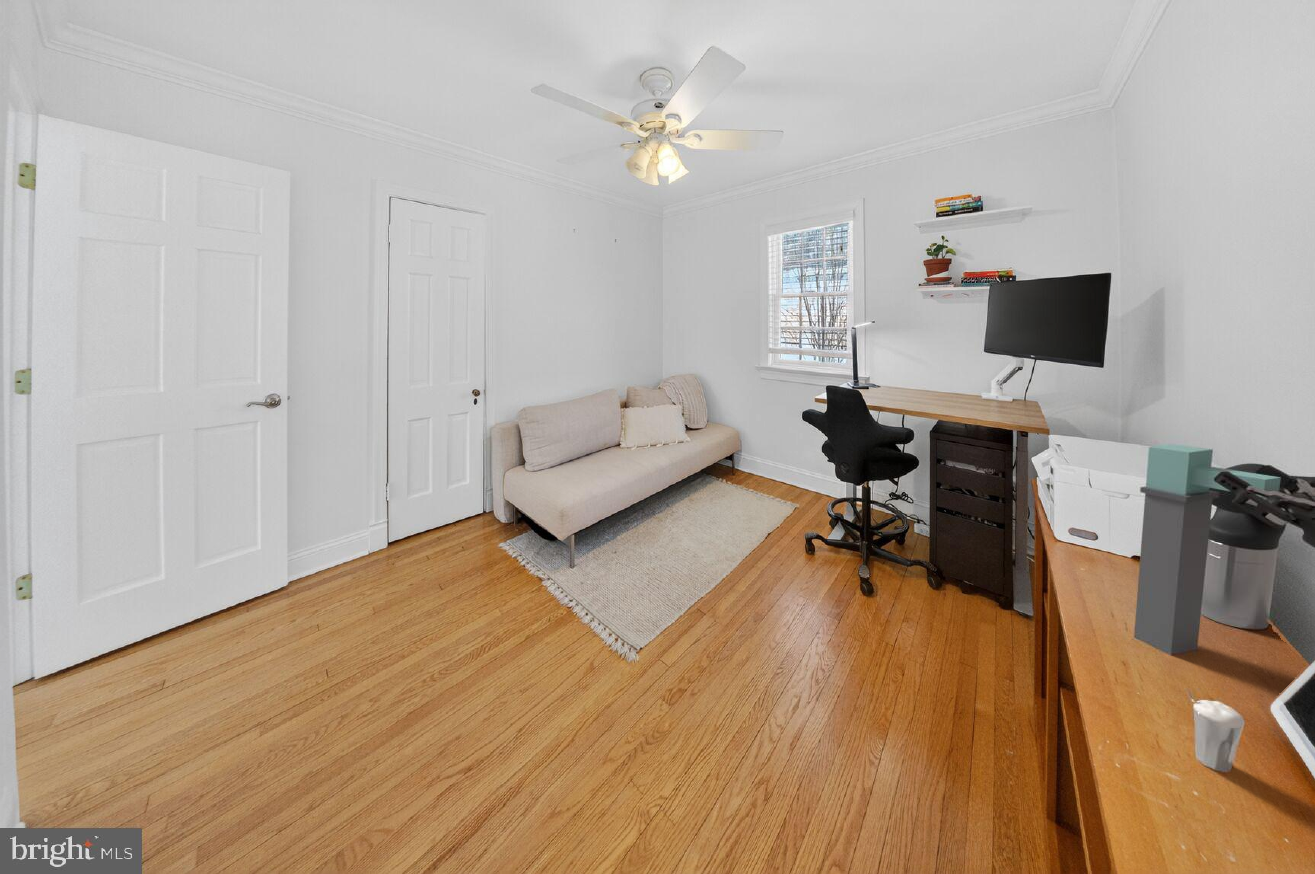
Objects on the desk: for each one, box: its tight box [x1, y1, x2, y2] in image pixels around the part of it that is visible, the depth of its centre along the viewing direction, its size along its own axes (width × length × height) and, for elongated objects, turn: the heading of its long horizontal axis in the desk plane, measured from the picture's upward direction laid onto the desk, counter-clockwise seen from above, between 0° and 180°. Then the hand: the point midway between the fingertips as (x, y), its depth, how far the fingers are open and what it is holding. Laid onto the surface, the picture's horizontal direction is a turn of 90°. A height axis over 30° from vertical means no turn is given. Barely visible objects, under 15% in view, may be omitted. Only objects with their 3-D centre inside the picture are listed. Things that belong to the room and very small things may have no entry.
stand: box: [1133, 486, 1219, 656], centre depth 87 cm, size 7×7×32 cm
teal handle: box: [1145, 443, 1281, 497], centre depth 80 cm, size 15×5×8 cm, turn 7°
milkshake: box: [1185, 687, 1246, 773], centre depth 64 cm, size 4×5×10 cm
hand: (1240, 471), depth 76 cm, fingers open, 8 cm apart
